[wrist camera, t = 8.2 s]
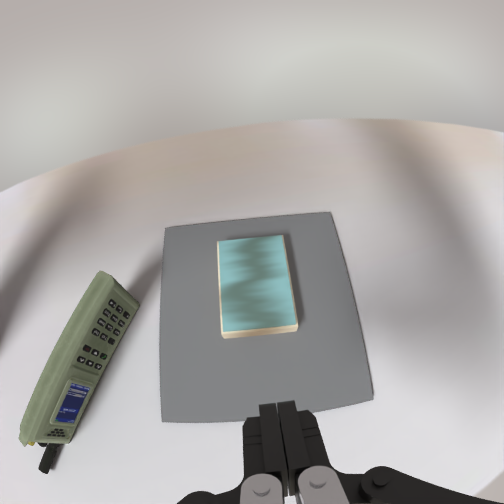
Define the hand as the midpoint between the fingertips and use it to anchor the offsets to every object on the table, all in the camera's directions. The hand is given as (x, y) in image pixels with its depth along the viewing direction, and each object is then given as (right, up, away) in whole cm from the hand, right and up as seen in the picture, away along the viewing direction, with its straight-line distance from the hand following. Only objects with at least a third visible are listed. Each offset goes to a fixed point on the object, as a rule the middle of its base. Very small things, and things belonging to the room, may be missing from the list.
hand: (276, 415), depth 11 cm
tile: (0, -1, +15) cm, 15 cm away
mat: (0, +1, +18) cm, 18 cm away
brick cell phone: (-19, -8, +14) cm, 25 cm away
